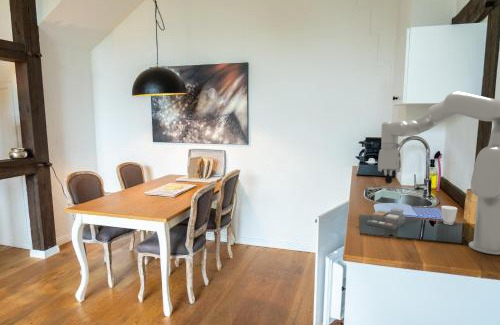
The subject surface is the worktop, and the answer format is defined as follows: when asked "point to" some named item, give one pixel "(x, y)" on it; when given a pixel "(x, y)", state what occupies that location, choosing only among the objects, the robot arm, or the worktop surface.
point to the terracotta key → (379, 214)
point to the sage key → (384, 211)
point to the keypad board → (386, 222)
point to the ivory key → (392, 216)
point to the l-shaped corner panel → (387, 194)
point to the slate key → (397, 212)
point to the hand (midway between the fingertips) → (388, 183)
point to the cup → (448, 214)
